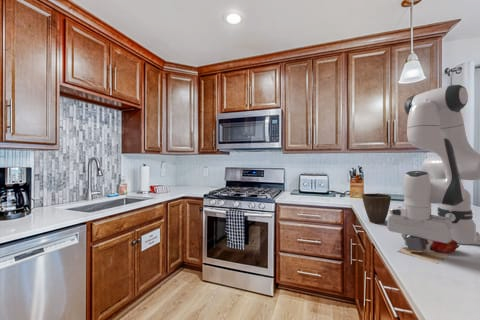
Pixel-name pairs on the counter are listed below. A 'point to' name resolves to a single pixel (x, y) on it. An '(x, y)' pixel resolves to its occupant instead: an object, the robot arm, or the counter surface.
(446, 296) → the counter surface
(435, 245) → the dragon fruit
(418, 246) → the block
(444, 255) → the pine board
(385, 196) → the plant pot
